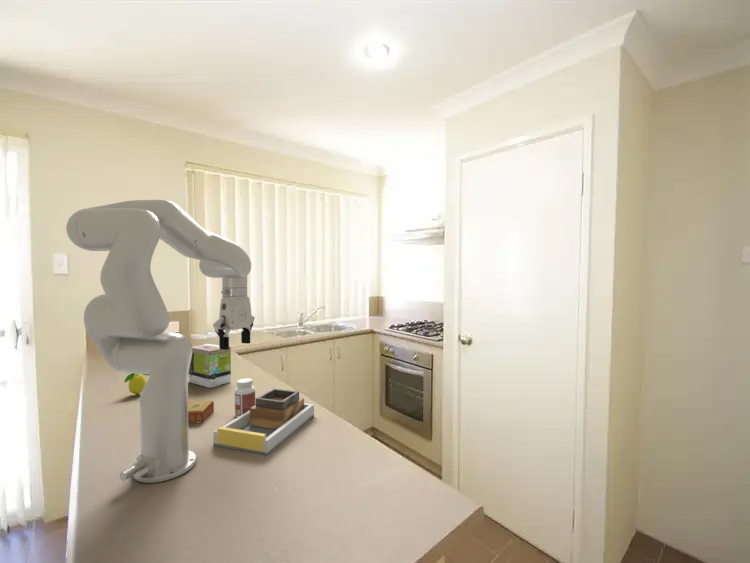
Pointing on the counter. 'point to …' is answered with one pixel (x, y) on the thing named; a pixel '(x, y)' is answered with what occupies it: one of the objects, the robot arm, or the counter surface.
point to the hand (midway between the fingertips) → (235, 346)
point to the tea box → (210, 365)
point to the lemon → (136, 383)
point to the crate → (275, 408)
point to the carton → (199, 411)
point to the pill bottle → (244, 396)
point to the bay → (259, 432)
